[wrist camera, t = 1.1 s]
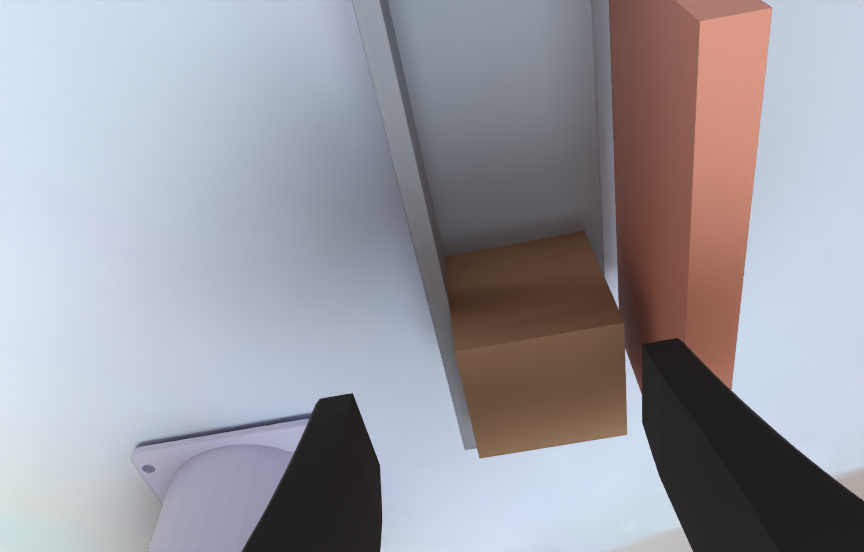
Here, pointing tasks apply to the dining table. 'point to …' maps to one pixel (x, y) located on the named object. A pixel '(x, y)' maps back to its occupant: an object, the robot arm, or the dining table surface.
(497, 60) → the grey boxy piece
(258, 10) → the dining table surface
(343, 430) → the robot arm
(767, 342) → the dining table surface
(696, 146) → the thick rectangular slab
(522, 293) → the block
